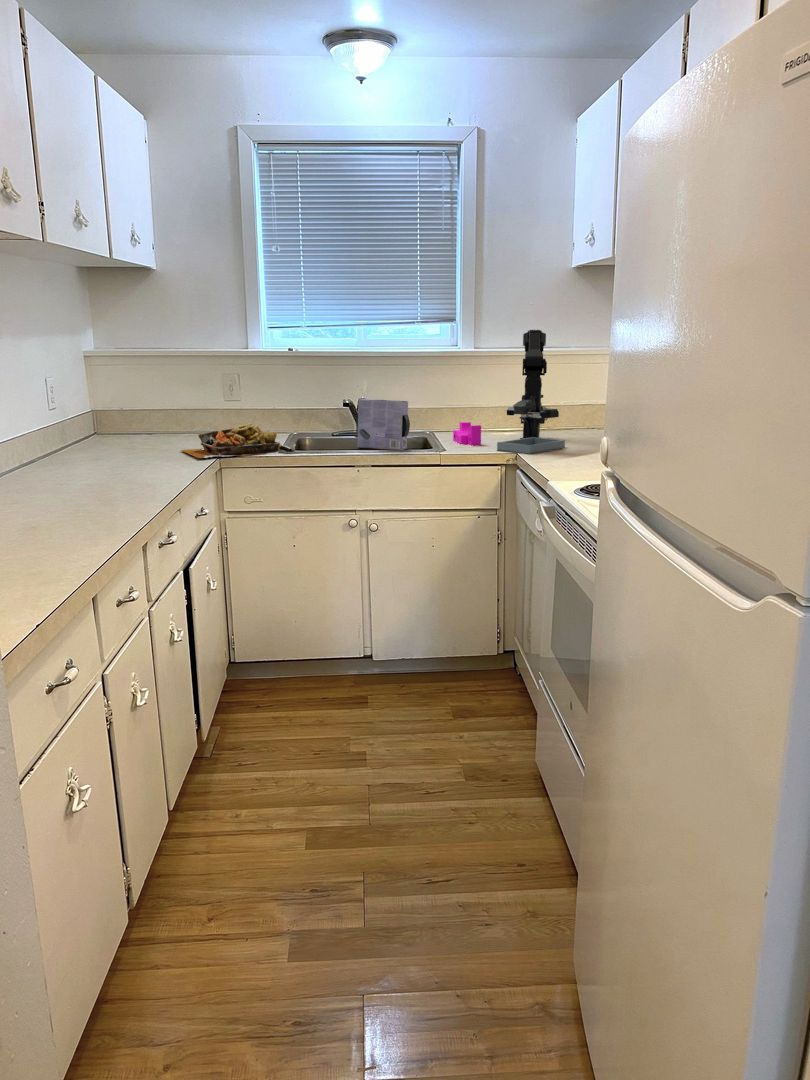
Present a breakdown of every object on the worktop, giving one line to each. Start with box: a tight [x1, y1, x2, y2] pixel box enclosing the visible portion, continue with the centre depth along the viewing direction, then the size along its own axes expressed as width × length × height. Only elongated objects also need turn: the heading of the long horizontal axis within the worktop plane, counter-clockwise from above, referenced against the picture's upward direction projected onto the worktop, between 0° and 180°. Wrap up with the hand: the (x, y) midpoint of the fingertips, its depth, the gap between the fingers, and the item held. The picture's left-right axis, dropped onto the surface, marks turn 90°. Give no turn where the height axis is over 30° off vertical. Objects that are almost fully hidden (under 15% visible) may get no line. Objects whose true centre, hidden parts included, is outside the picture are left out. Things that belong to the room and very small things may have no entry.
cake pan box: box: [357, 398, 411, 451], centre depth 287 cm, size 19×5×18 cm, turn 65°
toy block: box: [452, 421, 482, 447], centre depth 303 cm, size 15×6×8 cm, turn 13°
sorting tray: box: [496, 437, 566, 455], centre depth 284 cm, size 21×14×3 cm, turn 135°
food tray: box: [180, 422, 296, 459], centre depth 284 cm, size 35×26×11 cm
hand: (531, 436), depth 283 cm, fingers closed
